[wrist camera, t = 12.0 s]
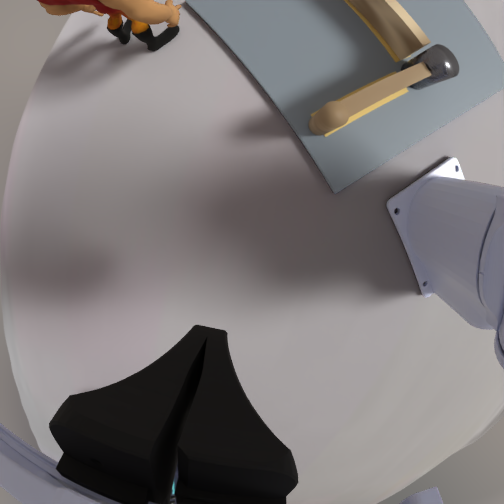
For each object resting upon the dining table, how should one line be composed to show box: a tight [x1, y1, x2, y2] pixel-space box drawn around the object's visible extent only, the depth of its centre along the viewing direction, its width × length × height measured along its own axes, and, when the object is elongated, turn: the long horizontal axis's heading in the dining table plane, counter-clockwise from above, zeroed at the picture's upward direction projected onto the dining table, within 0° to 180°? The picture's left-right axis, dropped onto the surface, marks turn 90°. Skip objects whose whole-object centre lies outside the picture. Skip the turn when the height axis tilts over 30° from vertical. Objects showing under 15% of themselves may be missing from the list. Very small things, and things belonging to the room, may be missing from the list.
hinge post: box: [401, 44, 459, 90], centre depth 12 cm, size 2×2×4 cm
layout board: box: [185, 0, 504, 194], centre depth 13 cm, size 19×26×1 cm
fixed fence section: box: [308, 62, 432, 136], centre depth 13 cm, size 1×9×4 cm, turn 124°
